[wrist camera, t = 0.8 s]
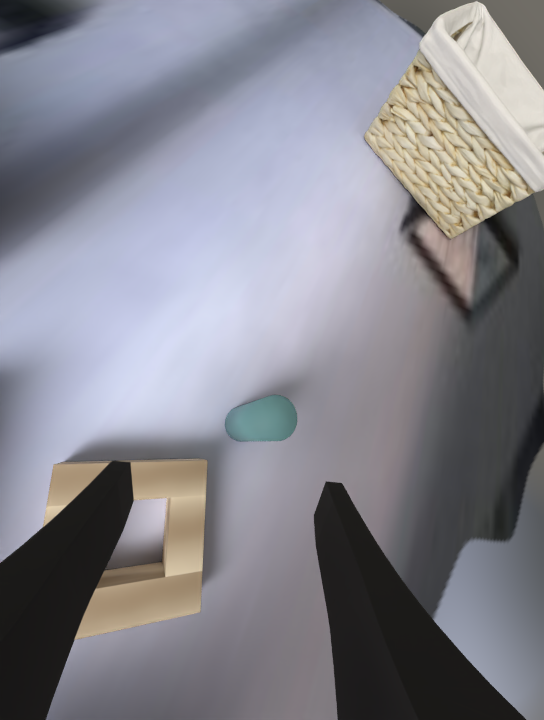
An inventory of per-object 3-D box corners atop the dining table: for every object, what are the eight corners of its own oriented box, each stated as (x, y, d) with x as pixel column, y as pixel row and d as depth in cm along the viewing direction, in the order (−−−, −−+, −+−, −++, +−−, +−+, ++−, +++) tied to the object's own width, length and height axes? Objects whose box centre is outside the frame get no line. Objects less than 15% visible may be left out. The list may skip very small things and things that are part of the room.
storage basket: (350, 132, 46) (436, 11, 33) (395, 102, 54) (479, -7, 41) (449, 251, 49) (562, 182, 36) (478, 207, 57) (582, 137, 44)
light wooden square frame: (192, 593, 24) (200, 612, 21) (36, 623, 20) (21, 651, 17) (199, 458, 26) (207, 460, 24) (63, 462, 22) (53, 464, 20)
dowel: (257, 441, 29) (297, 441, 22) (224, 441, 28) (255, 441, 20) (257, 407, 30) (296, 396, 23) (225, 405, 28) (256, 393, 21)
